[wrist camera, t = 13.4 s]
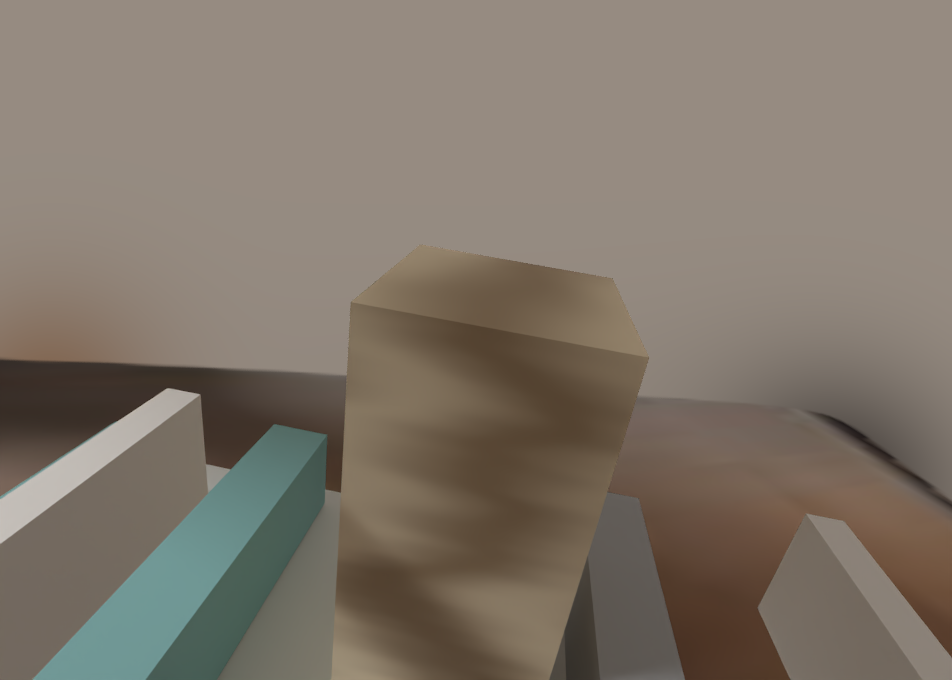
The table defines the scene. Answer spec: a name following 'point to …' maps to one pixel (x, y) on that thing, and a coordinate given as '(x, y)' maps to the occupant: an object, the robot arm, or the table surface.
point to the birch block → (475, 463)
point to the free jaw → (205, 571)
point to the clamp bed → (585, 636)
